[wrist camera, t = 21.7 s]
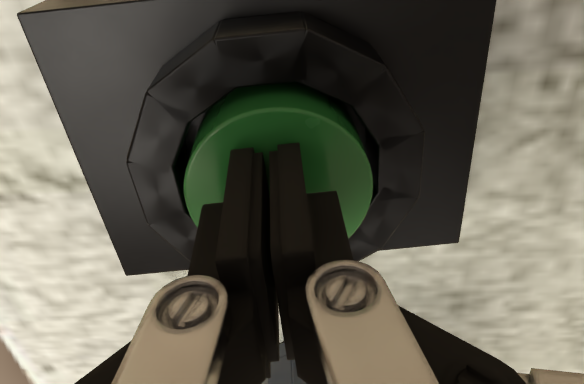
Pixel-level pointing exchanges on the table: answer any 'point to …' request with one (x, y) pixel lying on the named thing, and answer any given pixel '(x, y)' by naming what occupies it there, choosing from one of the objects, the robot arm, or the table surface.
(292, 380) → the mug
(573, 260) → the table surface
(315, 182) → the button
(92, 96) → the button box
